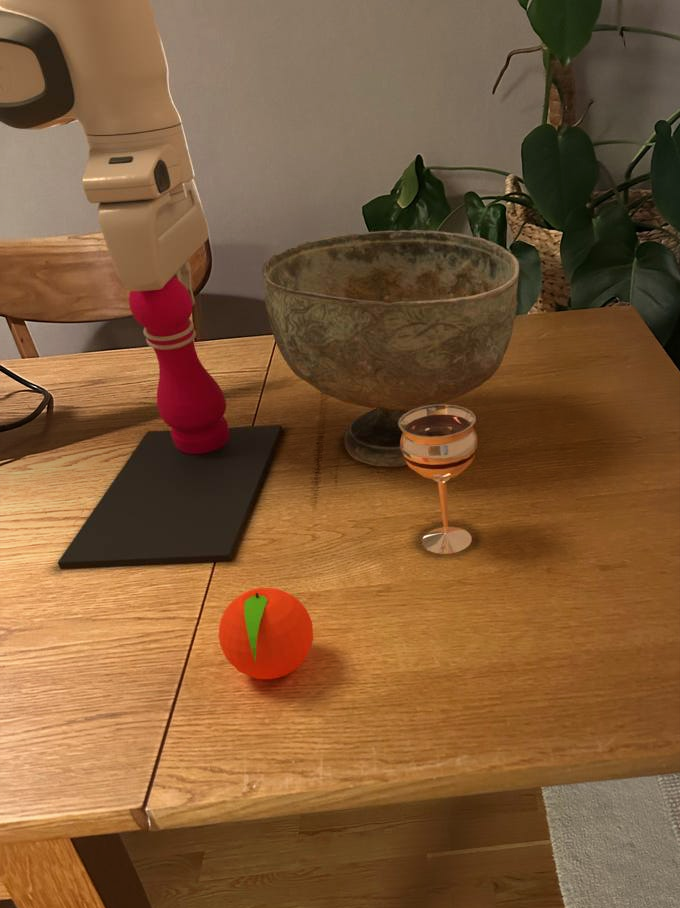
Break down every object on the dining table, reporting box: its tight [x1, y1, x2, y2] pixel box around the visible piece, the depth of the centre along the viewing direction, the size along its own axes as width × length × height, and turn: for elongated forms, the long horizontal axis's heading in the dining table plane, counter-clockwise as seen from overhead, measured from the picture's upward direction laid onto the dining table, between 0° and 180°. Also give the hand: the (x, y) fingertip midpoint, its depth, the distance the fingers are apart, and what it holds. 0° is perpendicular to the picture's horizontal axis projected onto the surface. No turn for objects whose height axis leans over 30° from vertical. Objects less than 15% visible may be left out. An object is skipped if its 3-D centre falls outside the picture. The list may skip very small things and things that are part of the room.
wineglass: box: [398, 403, 478, 555], centre depth 75 cm, size 7×7×12 cm
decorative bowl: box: [261, 229, 520, 468], centre depth 90 cm, size 26×26×20 cm
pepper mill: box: [128, 277, 230, 454], centre depth 88 cm, size 7×7×20 cm
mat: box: [57, 424, 284, 570], centre depth 88 cm, size 16×28×1 cm, turn 1°
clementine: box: [218, 587, 314, 680], centre depth 63 cm, size 8×7×7 cm
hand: (184, 309), depth 89 cm, fingers closed
